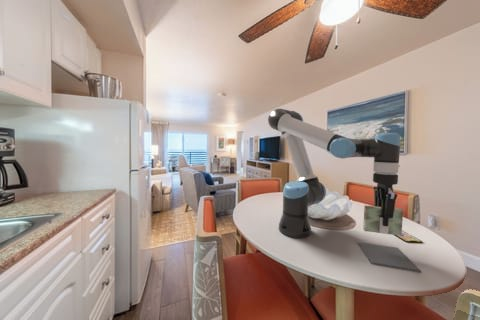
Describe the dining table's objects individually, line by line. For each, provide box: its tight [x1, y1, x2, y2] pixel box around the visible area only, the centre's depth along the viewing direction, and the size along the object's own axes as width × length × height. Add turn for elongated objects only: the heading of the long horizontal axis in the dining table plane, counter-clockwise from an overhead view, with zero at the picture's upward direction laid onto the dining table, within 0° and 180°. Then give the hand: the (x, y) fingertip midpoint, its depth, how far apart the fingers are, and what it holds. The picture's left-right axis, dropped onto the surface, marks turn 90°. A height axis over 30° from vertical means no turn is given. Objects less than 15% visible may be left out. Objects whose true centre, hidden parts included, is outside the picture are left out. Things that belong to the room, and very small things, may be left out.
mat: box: [357, 241, 422, 273], centre depth 67 cm, size 14×14×1 cm
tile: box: [363, 204, 404, 236], centre depth 70 cm, size 12×2×10 cm, turn 73°
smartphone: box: [393, 230, 423, 244], centre depth 84 cm, size 7×1×15 cm
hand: (382, 231), depth 71 cm, fingers closed on tile, 2 cm apart
